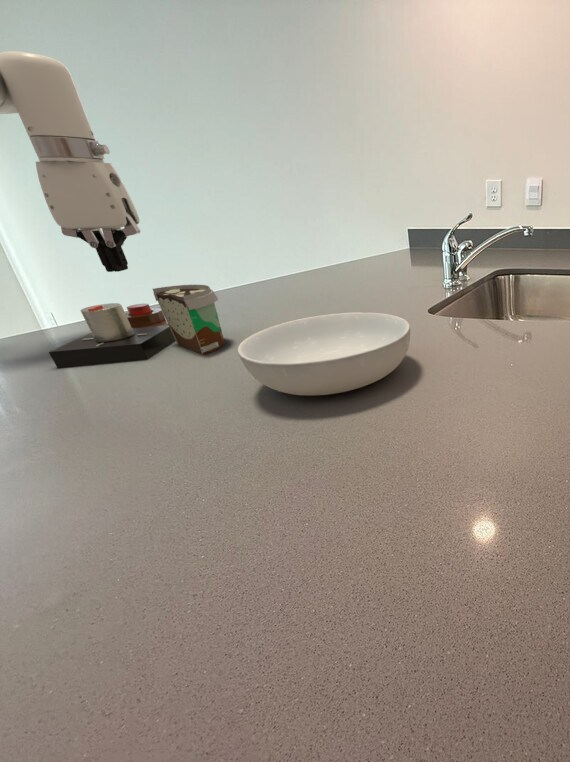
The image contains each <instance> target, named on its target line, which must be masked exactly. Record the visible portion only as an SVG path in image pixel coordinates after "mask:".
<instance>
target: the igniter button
mask: <svg viewBox="0 0 570 762" xmlns="http://www.w3.org/2000/svg"><path fill="white" fill-rule="evenodd" d="M126 309H127V312H129V314H130V316H136V315H143V314H148V313H151V312H152V311H151V309H152V308H151V306H150V304H149V303H136V304H131V305H128V306H126Z"/></svg>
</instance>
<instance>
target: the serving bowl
mask: <svg viewBox="0 0 570 762" xmlns="http://www.w3.org/2000/svg"><path fill="white" fill-rule="evenodd" d="M410 341H411V325H410V323H409V321H407V320H406V319H404V318H402V317H400V316H397V315H394V314H388V313H381V312H379V313H378V312H339V313H329V314H322V315H316V316H315V315H314V316H309V317H303V318H298V319H295V320H290V321H285V322H282V323H278V324H276V325H275V324H274V325H272V326H270V327H268V328H264V329H262V330H260V331H257V332H255V333H253V334H251V335H249V336H248V337H247V338H245V339H243V340H242V342H240V344H239V345H238V347H237V355H238V357H239V359H240V361H241V362H242V364H243V365H244V367H245V369H246V370H247V372H248V373H249V374H250V375H251V376H252V377H253V378H254V379H255V380H256V381H258V382H259V383H260V384H262V385H264V386H265V387H267V388H269V389H272V390H273V391H274V390H275V391H276V392H280V393H285V394H288V395H293V396H294V395H295V396H328V395H335V394H340V393H341V394H342V393H346V392H350V391H354V390H357V389H360V388H363V387H366V386H368V385H371V384H373V383H376V382H378V381H379V380H382V379H383V378H385V377H386V376H388V375H389V374H391V373H392V372H393V371H395V370H396V369H397V367H399V365H400V364H401V363H402V362H403V360H404V359H405V357H406V355H407V353H408V350H409V347H410Z"/></svg>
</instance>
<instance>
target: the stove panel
mask: <svg viewBox="0 0 570 762" xmlns="http://www.w3.org/2000/svg"><path fill="white" fill-rule="evenodd" d="M132 329H133V331H134V335H132V336H130V337H128V338H124V339H120V340H116V341H109V342H97V341H95V339H94V337H93V335H92V333H91V332H90V333H87V334H85V335H83V336H80V337H79V338H76V339H74V340H72V341H70V342H67V343H65V344H63V345H61V346H59V347H57V348H55V349H53V350H50V351H48V354H49V356H50V357H51V359H52V361H53V363H54V365H55V366H56V368H57V369H64V368H76V367H86V366H87V367H88V366H96V365H105V364H107V365H108V364H116V363H117V364H118V363H125V362H126V363H127V362H135V361H136V362H138V361H146V360H149V359H151V358H152V357H154V356H156V355H157V354H159V353H160V352H161V351H163V350H165V349H166V348H167V347H169V346H171V345H172V344H174V343H176V340H175V338H174V336H173V334H172V332H171V329H170V327H169V325H167V326H155V327H143V328H132Z"/></svg>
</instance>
